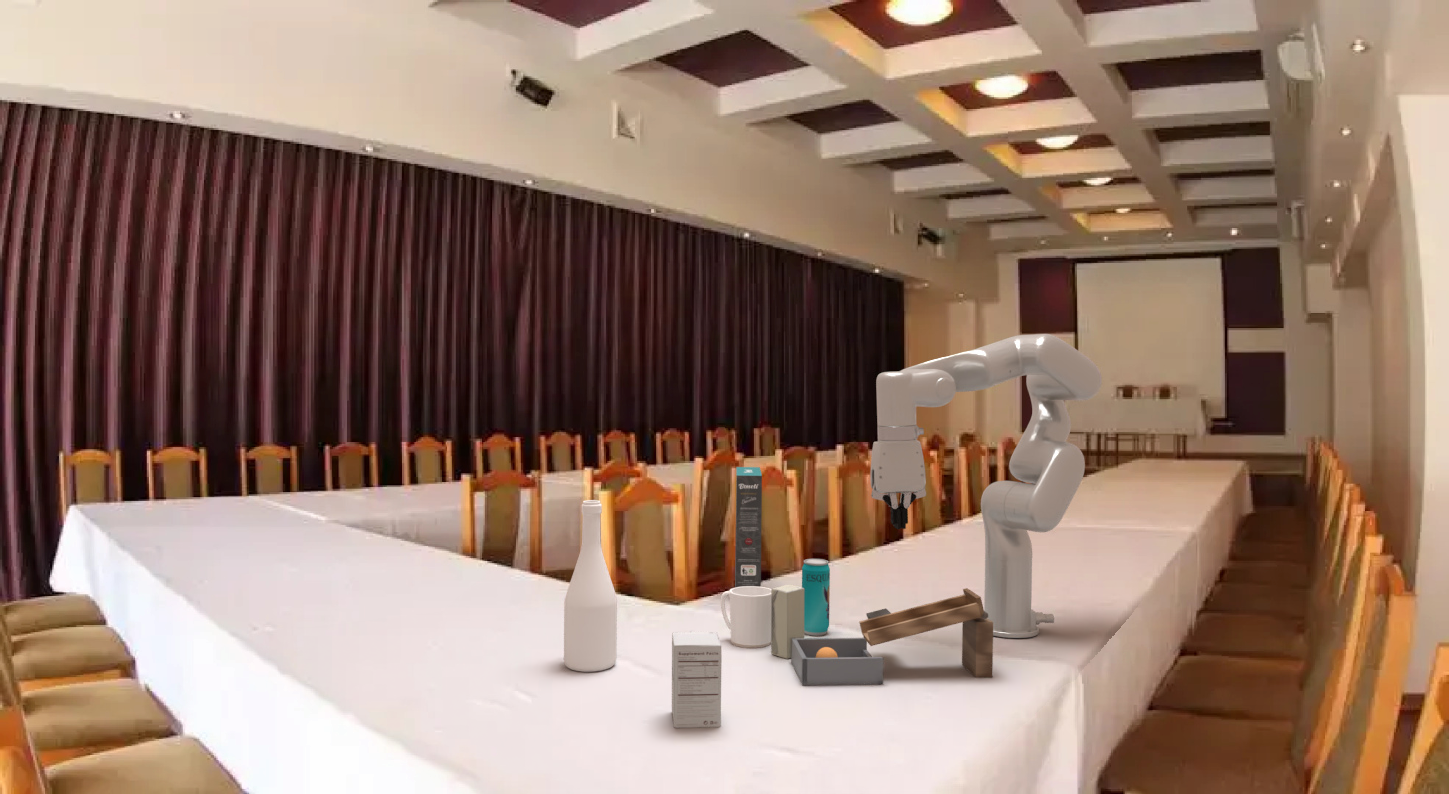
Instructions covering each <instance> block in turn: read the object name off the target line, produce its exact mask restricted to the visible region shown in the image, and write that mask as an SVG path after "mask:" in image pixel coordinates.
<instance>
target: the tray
mask: <svg viewBox="0 0 1449 794" xmlns="http://www.w3.org/2000/svg"><path fill="white" fill-rule="evenodd" d="M867 646H868V642H867V641H866V640H865V639H864V637H813V638H812V637H804V638H792V641H791V659H790V662H791V665H792V667H793V669H794V671H795V673H796V676H797V678H798V679H799V682H800V684H801V685H802V686H843V685H844V686H847V685H848V686H850V685H852V686H853V685H856V686H857V685H860V686H861V685H884V683H883V682H884V657H882V656H872V654H871V653H870V652H869V650H868V647H867ZM824 647H829V648H832V649H833V650H834V651H835V652H836V653H837V656H838V657H836V658H816V654H817V652H818V651H819V650H820V649H821V648H824Z"/></svg>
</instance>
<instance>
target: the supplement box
mask: <svg viewBox="0 0 1449 794" xmlns="http://www.w3.org/2000/svg"><path fill="white" fill-rule="evenodd" d="M722 655H723V654H722V642H721V640H720V637H719V634H718V632H716V631H688V632H687V631H685V632H682V631H680V632H679V631H678V632H672V634H671V713H672V721H673V728H676V729H677V728H679V729H680V728H681V729H682V728H684V729H686V728H688V729H691V728H719V727H721V725H722V661H723V660H722Z"/></svg>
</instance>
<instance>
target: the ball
mask: <svg viewBox="0 0 1449 794" xmlns="http://www.w3.org/2000/svg"><path fill="white" fill-rule="evenodd" d="M836 657H838V656H837V653H836V652H835V651H834V650H833V649H832V648H829V647H824V648H821V649H820V650H819V651H818V652H817V654H816V658H836Z"/></svg>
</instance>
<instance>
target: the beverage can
mask: <svg viewBox="0 0 1449 794" xmlns="http://www.w3.org/2000/svg"><path fill="white" fill-rule="evenodd" d="M830 576H831V568H830V565H829V561H828V560H826V559H822V558H807V559H803V565H802V567H801V587H802V588H804V635H807V636H812V637H820V636H825V635H826V634H827V632H828V630H829V628H830V599H831V598H830V595H831V594H830V589H831V588H830V586H831V585H830V583H831V581H830V580H831V578H830Z"/></svg>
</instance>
